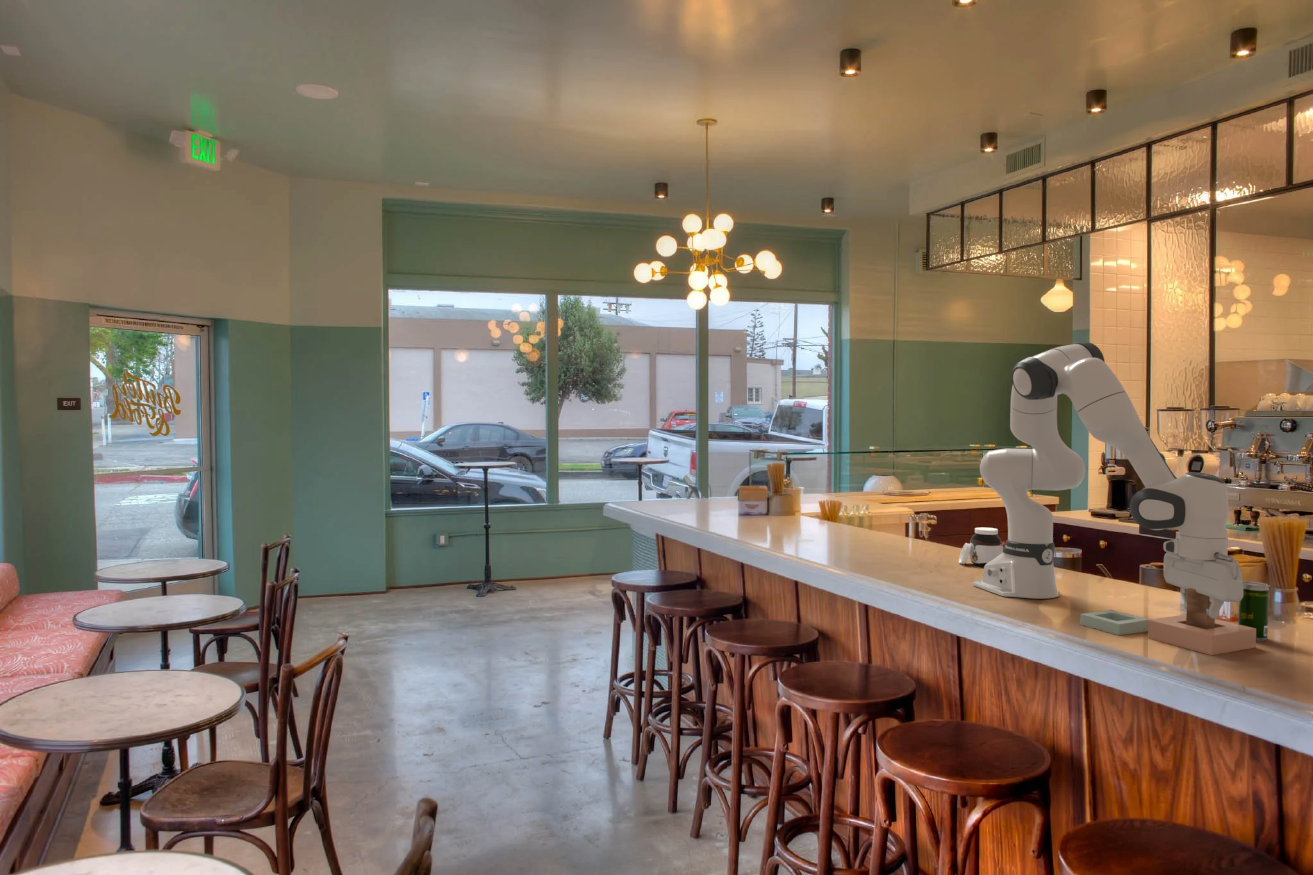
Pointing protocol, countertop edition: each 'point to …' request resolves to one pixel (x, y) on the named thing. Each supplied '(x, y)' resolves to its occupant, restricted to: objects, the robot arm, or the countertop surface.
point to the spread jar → (982, 547)
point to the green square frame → (1114, 622)
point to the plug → (1198, 610)
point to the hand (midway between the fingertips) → (1201, 613)
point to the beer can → (1255, 608)
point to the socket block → (1202, 635)
